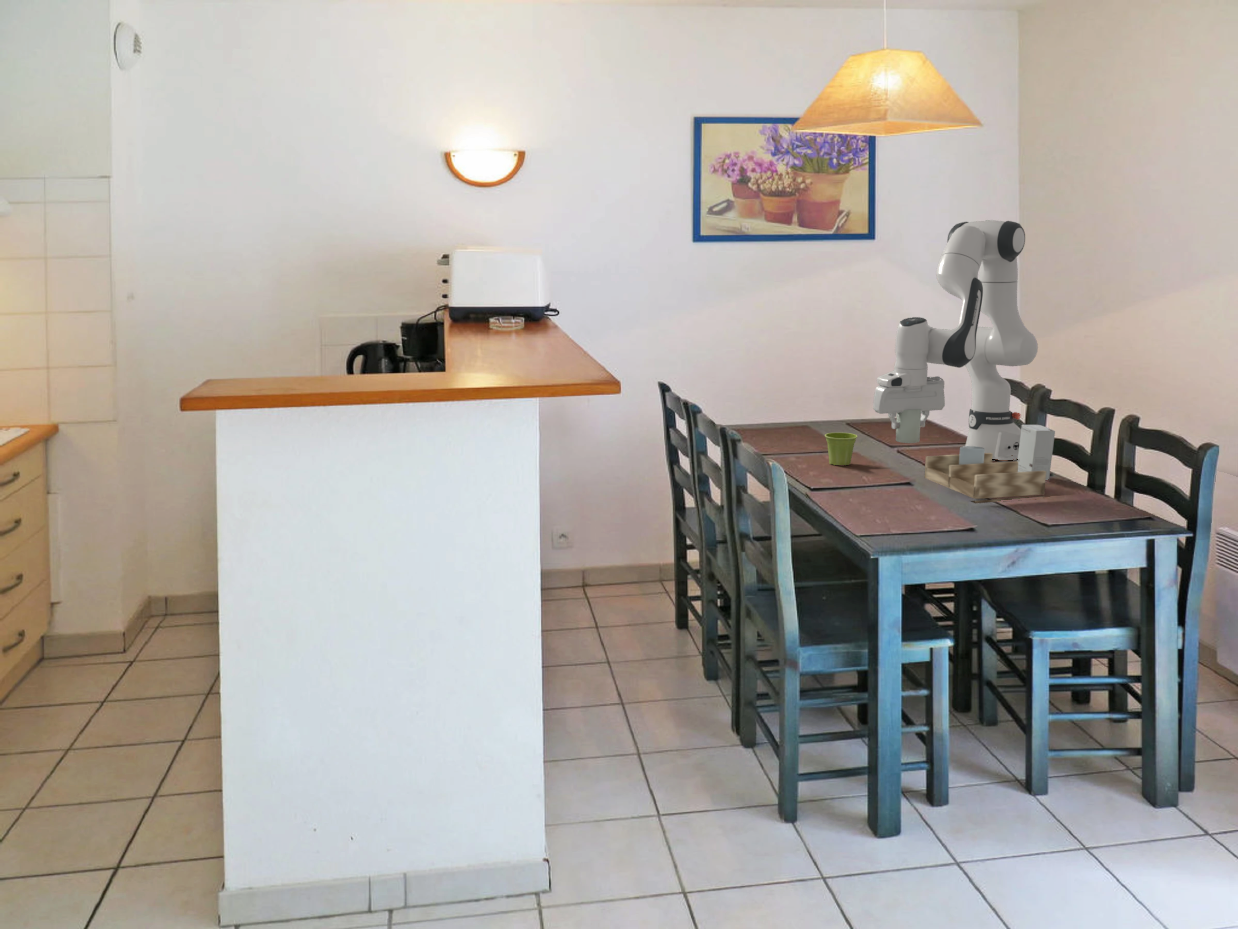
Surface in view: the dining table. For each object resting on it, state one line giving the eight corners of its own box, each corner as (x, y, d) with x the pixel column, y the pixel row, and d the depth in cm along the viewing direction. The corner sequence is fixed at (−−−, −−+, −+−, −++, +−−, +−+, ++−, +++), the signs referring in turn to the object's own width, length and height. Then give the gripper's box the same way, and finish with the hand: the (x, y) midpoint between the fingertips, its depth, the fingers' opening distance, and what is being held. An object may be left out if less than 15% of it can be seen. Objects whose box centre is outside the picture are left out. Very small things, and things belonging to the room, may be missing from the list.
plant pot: (856, 468, 323) (857, 438, 321) (823, 466, 325) (824, 437, 323) (856, 461, 332) (857, 433, 330) (823, 460, 334) (825, 431, 332)
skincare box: (1015, 476, 312) (1019, 424, 309) (1034, 475, 314) (1039, 423, 310) (1031, 483, 304) (1035, 429, 301) (1051, 482, 305) (1055, 429, 302)
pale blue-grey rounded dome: (973, 477, 305) (976, 445, 304) (987, 482, 299) (989, 449, 297) (953, 478, 304) (955, 446, 302) (966, 484, 298) (968, 451, 296)
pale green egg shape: (912, 437, 312) (913, 406, 310) (923, 442, 306) (925, 409, 304) (891, 439, 310) (892, 407, 308) (902, 443, 304) (904, 411, 302)
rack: (988, 478, 310) (990, 452, 309) (1043, 498, 287) (1046, 471, 285) (924, 482, 305) (925, 456, 304) (975, 503, 282) (977, 475, 280)
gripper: (938, 374, 310) (936, 423, 313) (871, 378, 305) (869, 427, 308) (950, 377, 304) (947, 427, 307) (882, 381, 299) (880, 431, 302)
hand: (908, 427), depth 307 cm, fingers closed on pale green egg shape, 6 cm apart
